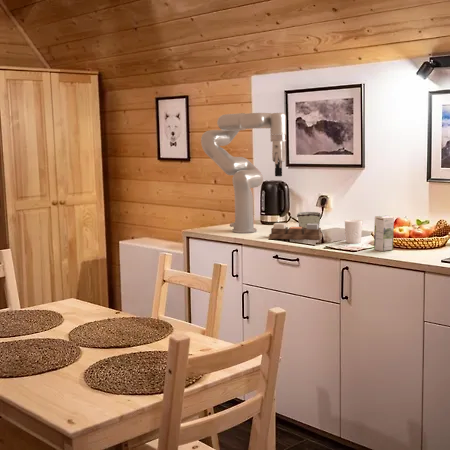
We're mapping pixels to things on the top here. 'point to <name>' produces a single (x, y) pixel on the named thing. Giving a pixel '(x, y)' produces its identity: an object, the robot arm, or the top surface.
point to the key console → (296, 234)
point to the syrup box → (383, 233)
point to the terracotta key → (296, 228)
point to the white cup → (353, 231)
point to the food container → (308, 218)
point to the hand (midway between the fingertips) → (278, 176)
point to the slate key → (312, 226)
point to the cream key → (279, 225)
